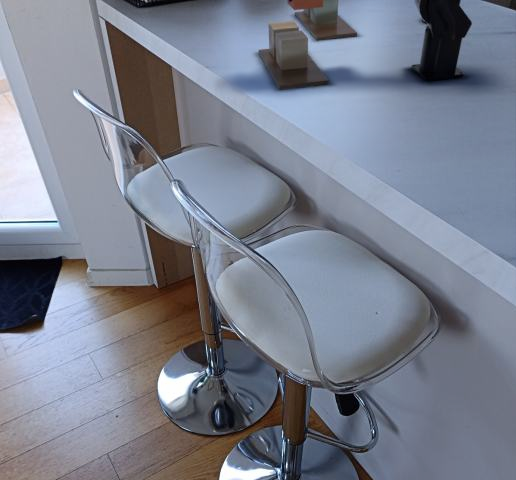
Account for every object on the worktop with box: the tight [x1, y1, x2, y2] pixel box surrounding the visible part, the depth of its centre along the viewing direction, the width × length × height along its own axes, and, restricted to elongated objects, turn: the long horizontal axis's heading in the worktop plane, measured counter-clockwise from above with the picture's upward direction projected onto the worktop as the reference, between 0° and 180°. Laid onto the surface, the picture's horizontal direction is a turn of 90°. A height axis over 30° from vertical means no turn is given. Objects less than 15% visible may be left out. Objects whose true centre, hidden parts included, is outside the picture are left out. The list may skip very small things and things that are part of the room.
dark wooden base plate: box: [294, 0, 358, 41], centre depth 107 cm, size 19×8×5 cm, turn 10°
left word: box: [258, 19, 329, 90], centre depth 90 cm, size 19×8×5 cm, turn 10°
